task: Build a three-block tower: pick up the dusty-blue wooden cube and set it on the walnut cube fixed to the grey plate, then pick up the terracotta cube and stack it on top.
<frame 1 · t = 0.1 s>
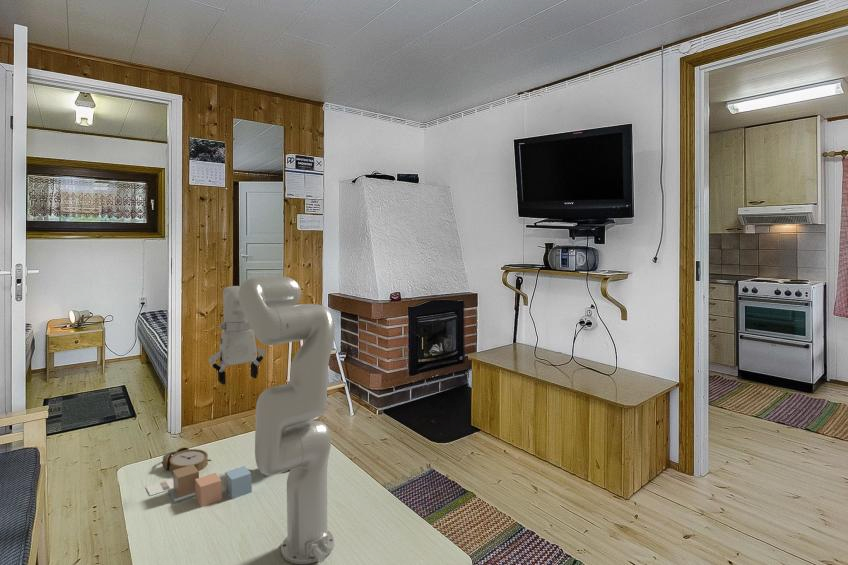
hand: (238, 380, 145), 31 cm above the table, fingers open, 9 cm apart
blue block: (238, 491, 138), on the table
alarm clock: (184, 467, 153), on the table
toy robot: (281, 467, 153), on the table
instruction card: (165, 486, 141), on the table
base: (186, 493, 137), on the table
terracotta block: (208, 499, 134), on the table
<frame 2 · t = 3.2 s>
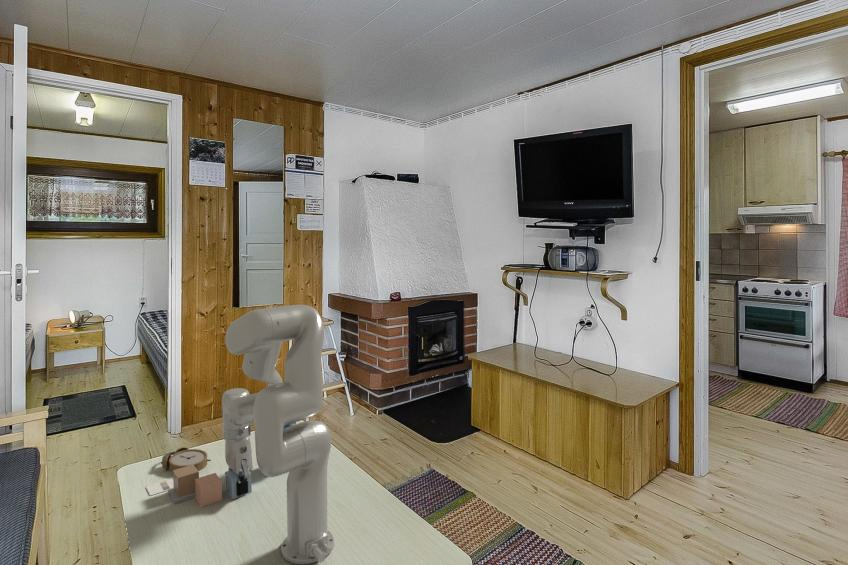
hand: (238, 489, 138), 1 cm above the table, fingers closed on blue block, 5 cm apart
blue block: (238, 491, 138), on the table, touching gripper
everything else where it was.
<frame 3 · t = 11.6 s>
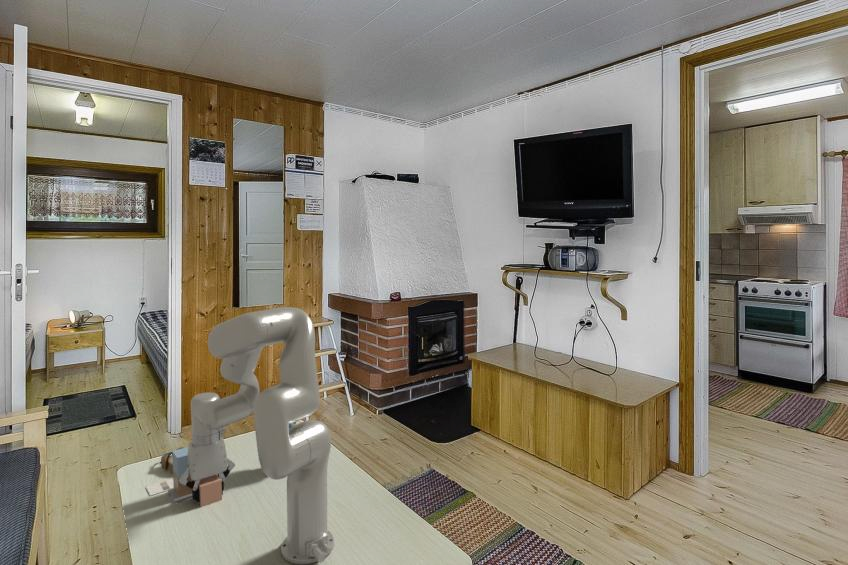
hand: (208, 496, 134), 1 cm above the table, fingers closed on terracotta block, 5 cm apart
blue block: (186, 471, 137), point 7 cm above the table, touching base
terracotta block: (208, 499, 134), on the table, touching gripper
everything else where it was.
when the fingers open (15 cm above the table, at t = 15.5 s): terracotta block drops 1 cm, resting on blue block.
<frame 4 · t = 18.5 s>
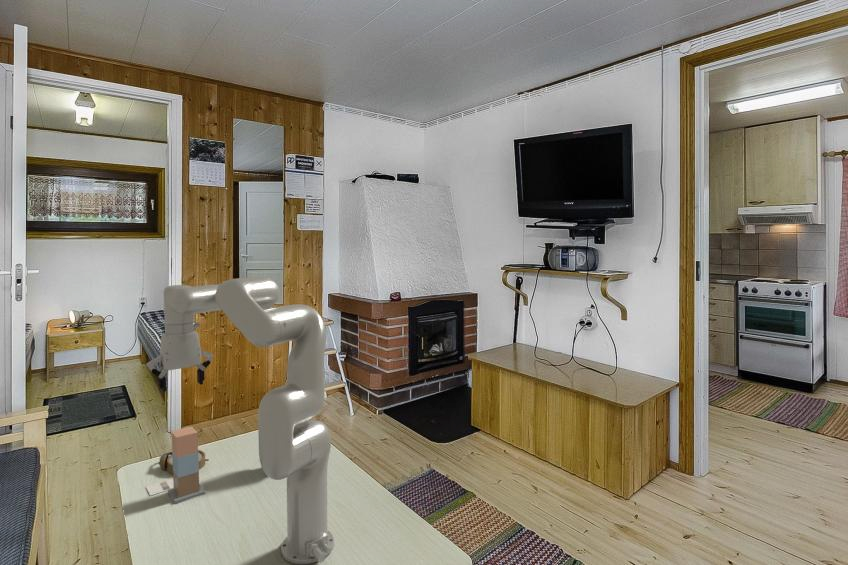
hand: (182, 386, 134), 32 cm above the table, fingers open, 9 cm apart
blue block: (185, 471, 137), point 7 cm above the table, touching base, terracotta block
terracotta block: (185, 451, 136), point 13 cm above the table, touching blue block
everything else where it was.
at the end: blue block 0.1 cm off-centre on the base, point 6.8 cm above the base's base; terracotta block 0.0 cm off-centre on the base, point 12.8 cm above the base's base; terracotta block tilted 0° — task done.
